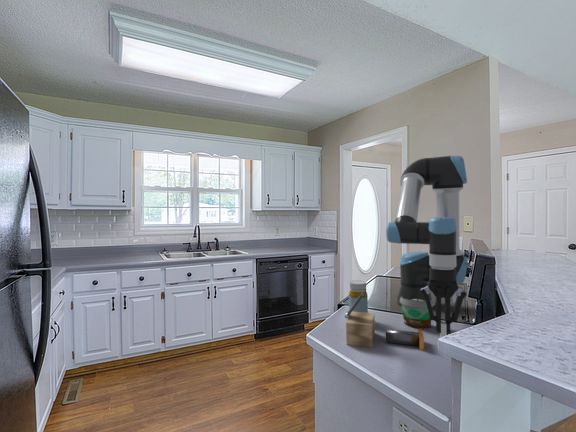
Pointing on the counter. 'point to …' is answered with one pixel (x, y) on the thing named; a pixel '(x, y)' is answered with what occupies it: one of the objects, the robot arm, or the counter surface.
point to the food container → (416, 313)
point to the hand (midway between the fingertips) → (443, 343)
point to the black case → (405, 337)
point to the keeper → (354, 305)
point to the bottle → (355, 292)
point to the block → (360, 329)
